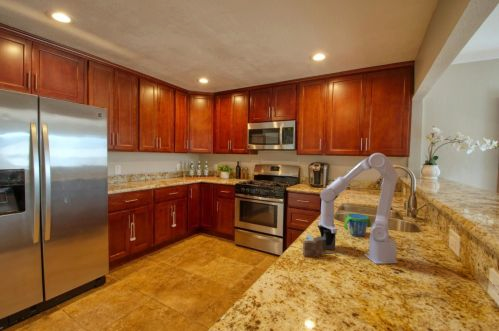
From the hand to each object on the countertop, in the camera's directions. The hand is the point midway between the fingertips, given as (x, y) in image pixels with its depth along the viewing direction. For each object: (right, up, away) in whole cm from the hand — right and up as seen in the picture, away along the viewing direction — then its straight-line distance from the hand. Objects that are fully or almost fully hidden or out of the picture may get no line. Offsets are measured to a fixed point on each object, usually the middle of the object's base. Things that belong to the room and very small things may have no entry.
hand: (326, 243), depth 104 cm
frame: (-2, -2, -7) cm, 8 cm away
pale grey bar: (-7, -2, +1) cm, 7 cm away
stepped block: (0, -2, 0) cm, 2 cm away
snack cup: (+23, -2, +18) cm, 29 cm away
